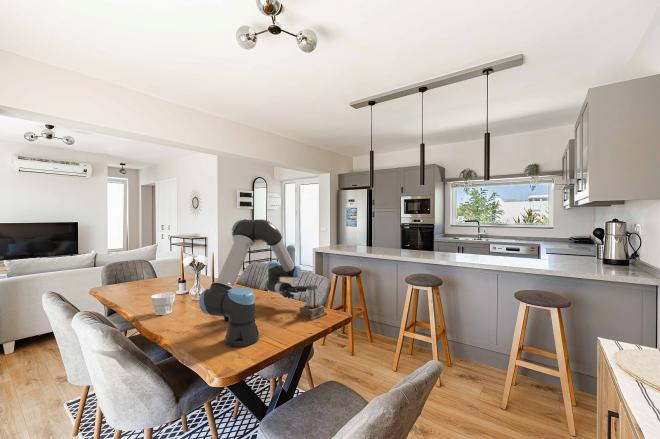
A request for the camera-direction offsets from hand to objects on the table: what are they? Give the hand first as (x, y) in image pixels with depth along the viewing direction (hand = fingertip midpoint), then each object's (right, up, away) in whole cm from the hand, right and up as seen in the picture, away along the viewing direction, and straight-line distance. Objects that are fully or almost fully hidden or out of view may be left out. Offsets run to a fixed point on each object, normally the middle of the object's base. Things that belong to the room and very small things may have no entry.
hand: (307, 294), depth 170 cm
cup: (-85, -13, +3) cm, 86 cm away
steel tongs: (+3, -10, -3) cm, 11 cm away
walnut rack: (+3, -11, -3) cm, 12 cm away
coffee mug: (-43, -12, -8) cm, 46 cm away
